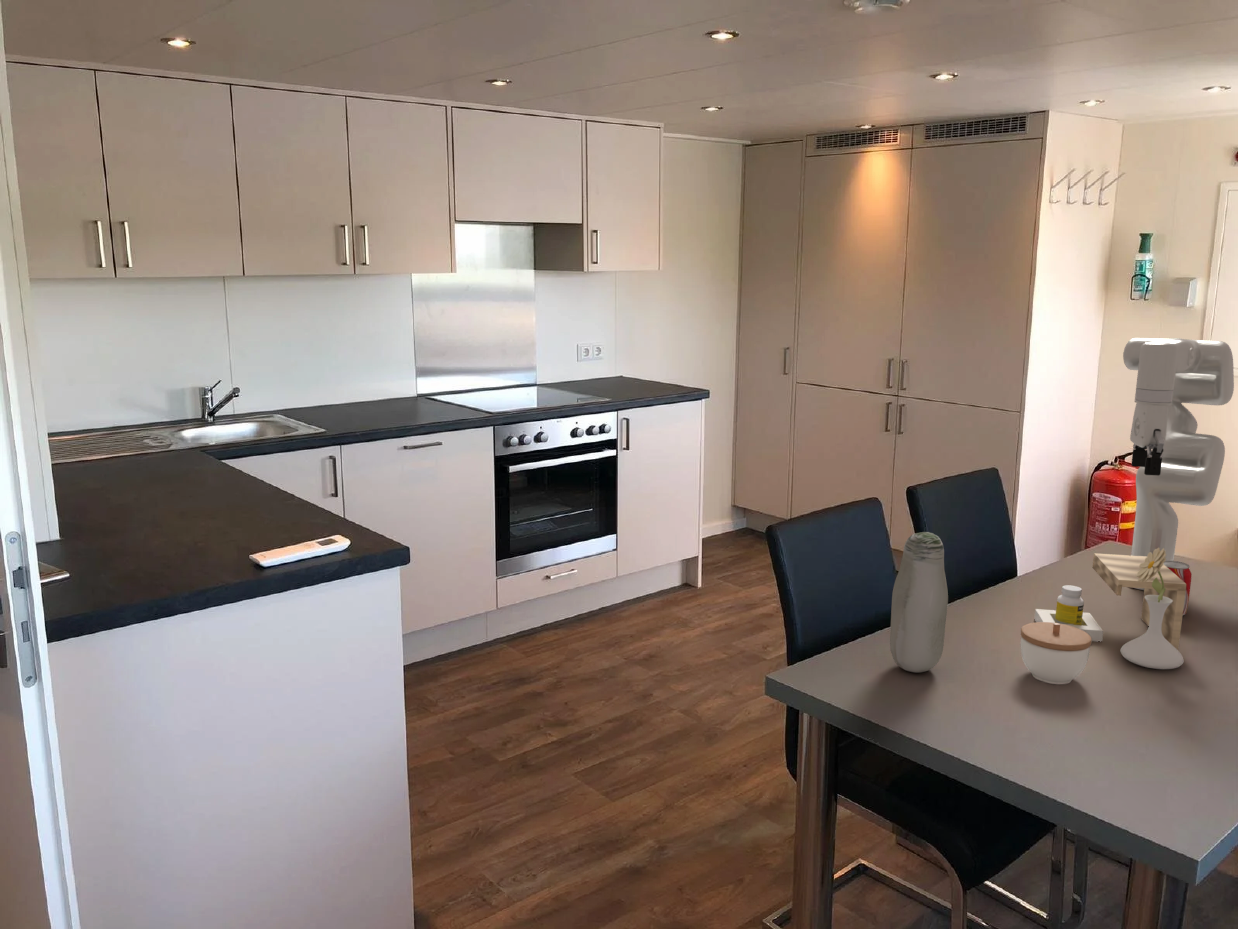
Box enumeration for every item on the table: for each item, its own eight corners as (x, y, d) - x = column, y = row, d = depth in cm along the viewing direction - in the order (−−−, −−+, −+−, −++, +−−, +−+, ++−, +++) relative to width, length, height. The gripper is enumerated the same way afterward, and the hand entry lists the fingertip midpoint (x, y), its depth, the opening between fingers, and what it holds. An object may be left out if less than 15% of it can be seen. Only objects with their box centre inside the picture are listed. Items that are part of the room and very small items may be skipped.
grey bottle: (927, 684, 189) (938, 543, 184) (879, 669, 196) (888, 533, 191) (950, 669, 196) (960, 533, 191) (902, 655, 203) (911, 524, 198)
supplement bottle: (1078, 636, 215) (1083, 593, 213) (1052, 631, 217) (1056, 589, 216) (1082, 628, 219) (1086, 586, 217) (1056, 624, 222) (1060, 582, 220)
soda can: (1193, 619, 226) (1199, 569, 223) (1161, 618, 226) (1168, 568, 224) (1176, 608, 233) (1182, 559, 230) (1146, 608, 233) (1152, 559, 230)
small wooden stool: (1087, 614, 228) (1093, 553, 225) (1148, 618, 226) (1155, 557, 223) (1111, 646, 209) (1118, 579, 206) (1177, 651, 206) (1186, 584, 204)
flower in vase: (1124, 648, 208) (1137, 534, 203) (1185, 661, 201) (1201, 543, 196) (1113, 668, 197) (1127, 548, 193) (1178, 682, 191) (1193, 558, 186)
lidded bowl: (1033, 659, 202) (1038, 608, 200) (1097, 677, 193) (1102, 624, 191) (1006, 676, 193) (1010, 623, 191) (1071, 696, 184) (1077, 640, 182)
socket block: (1034, 619, 225) (1035, 609, 224) (1088, 623, 222) (1089, 612, 222) (1045, 637, 214) (1046, 626, 213) (1102, 641, 211) (1103, 630, 211)
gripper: (1124, 391, 232) (1117, 462, 235) (1147, 401, 215) (1139, 477, 219) (1159, 392, 230) (1151, 464, 234) (1185, 402, 214) (1175, 479, 217)
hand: (1145, 470), depth 226 cm, fingers open, 9 cm apart
